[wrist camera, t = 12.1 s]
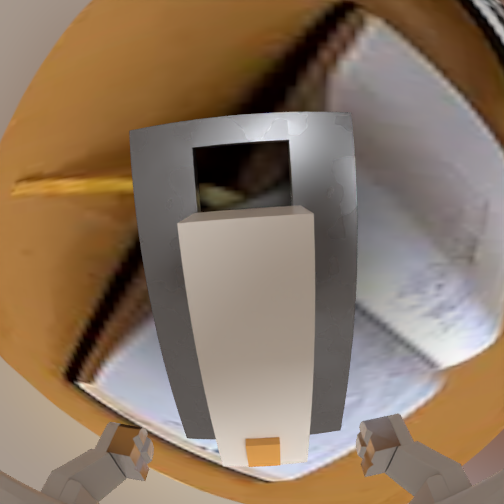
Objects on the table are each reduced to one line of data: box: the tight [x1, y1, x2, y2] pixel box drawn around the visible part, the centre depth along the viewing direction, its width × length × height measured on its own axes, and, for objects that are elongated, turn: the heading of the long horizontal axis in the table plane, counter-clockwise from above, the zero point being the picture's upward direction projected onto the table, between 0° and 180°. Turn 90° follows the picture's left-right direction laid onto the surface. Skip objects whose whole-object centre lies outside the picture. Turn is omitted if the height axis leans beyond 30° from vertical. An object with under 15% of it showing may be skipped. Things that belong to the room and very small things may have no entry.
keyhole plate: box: [129, 112, 357, 439], centre depth 19 cm, size 22×12×4 cm, turn 4°
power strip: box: [177, 205, 315, 467], centre depth 17 cm, size 16×6×8 cm, turn 4°
